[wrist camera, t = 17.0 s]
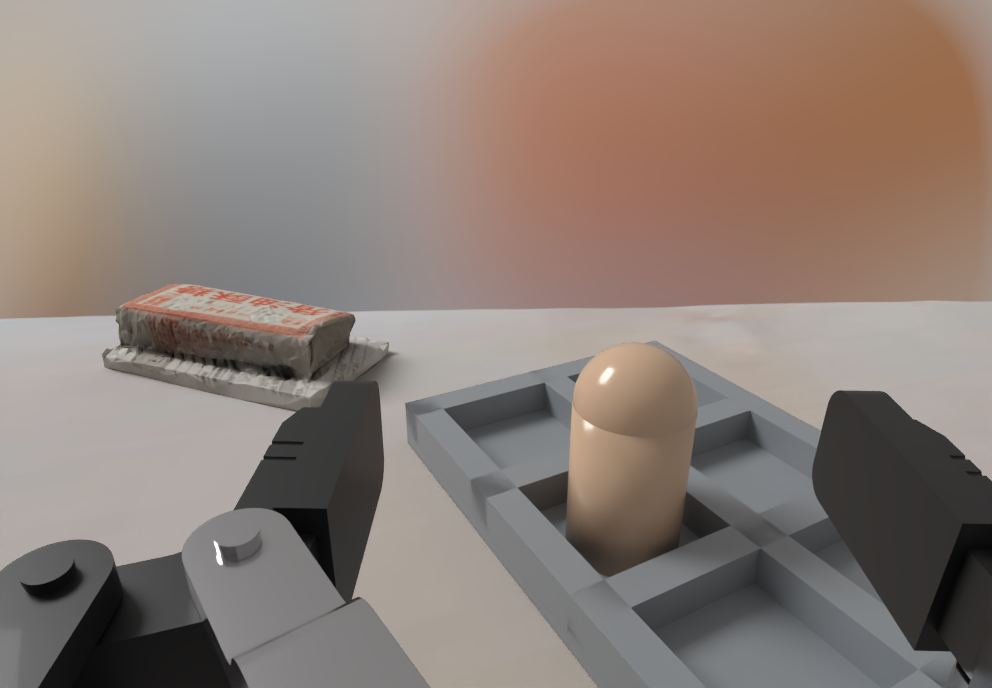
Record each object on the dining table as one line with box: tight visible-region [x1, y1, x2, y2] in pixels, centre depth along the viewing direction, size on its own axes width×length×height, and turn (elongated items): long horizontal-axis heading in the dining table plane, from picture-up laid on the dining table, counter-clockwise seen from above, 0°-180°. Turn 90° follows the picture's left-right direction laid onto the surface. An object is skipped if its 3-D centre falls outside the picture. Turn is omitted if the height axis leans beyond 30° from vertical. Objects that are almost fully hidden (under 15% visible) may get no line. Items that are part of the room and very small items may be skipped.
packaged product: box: [102, 284, 389, 411], centre depth 49 cm, size 18×5×10 cm
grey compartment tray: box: [405, 341, 956, 688], centre depth 33 cm, size 26×18×3 cm
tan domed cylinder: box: [565, 342, 698, 577], centre depth 29 cm, size 5×5×10 cm
